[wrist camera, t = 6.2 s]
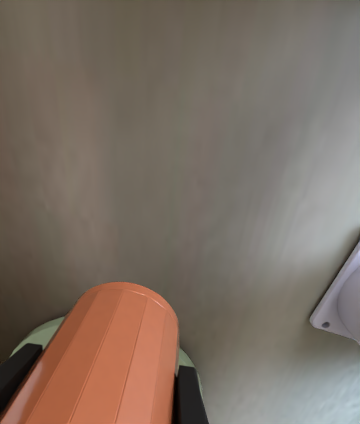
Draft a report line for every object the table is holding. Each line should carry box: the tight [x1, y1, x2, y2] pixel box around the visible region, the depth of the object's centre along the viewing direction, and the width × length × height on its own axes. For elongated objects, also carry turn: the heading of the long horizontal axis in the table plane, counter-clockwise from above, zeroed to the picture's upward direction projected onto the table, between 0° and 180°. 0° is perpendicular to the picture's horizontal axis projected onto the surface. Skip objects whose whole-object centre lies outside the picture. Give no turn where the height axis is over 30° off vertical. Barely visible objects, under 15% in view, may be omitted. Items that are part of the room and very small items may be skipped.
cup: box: [0, 282, 179, 424], centre depth 9 cm, size 5×5×8 cm
